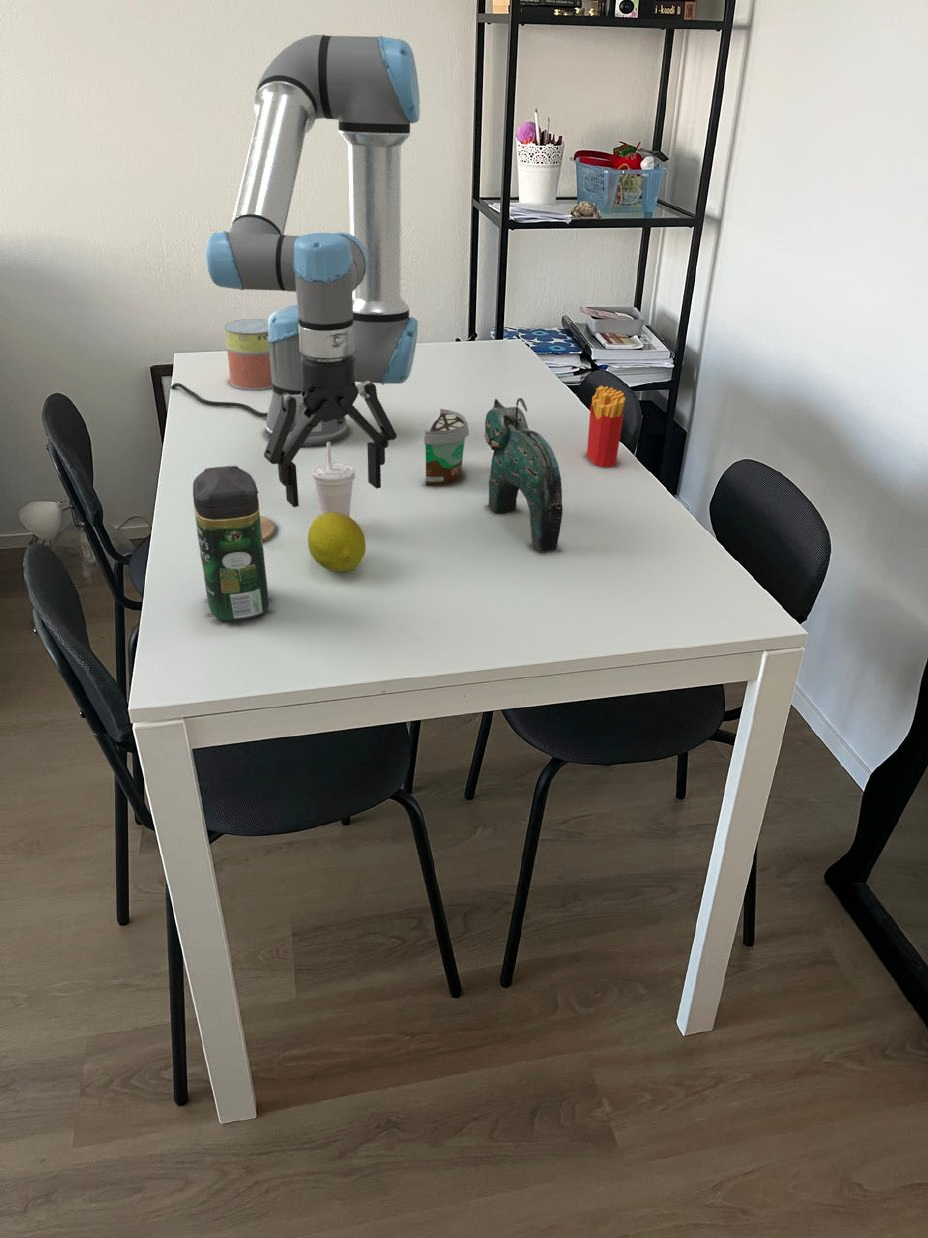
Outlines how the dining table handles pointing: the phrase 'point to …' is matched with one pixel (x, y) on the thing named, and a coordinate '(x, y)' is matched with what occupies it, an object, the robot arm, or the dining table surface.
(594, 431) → the french fries
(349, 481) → the white drink cup
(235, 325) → the canned food
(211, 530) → the coffee jar
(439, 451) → the food container
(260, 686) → the dining table surface
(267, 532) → the cork coaster
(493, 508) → the ceramic cat
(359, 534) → the lemon
